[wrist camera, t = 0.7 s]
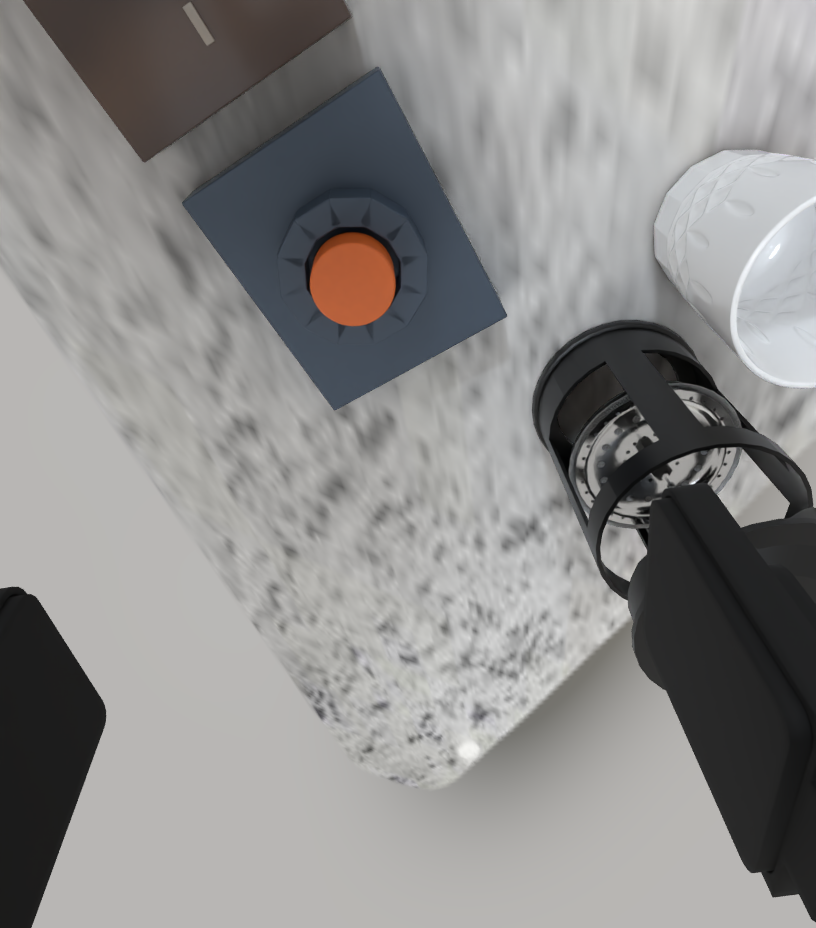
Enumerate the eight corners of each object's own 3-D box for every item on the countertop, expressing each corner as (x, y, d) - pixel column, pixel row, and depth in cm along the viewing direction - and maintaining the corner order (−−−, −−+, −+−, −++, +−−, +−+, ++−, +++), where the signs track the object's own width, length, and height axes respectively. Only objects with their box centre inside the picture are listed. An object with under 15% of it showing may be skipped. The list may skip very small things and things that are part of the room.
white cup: (662, 326, 36) (752, 419, 28) (620, 185, 32) (710, 245, 23) (813, 257, 34) (957, 335, 26) (789, 100, 30) (951, 132, 22)
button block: (191, 192, 31) (170, 213, 28) (378, 65, 29) (380, 72, 25) (336, 391, 37) (333, 429, 34) (500, 300, 35) (514, 331, 31)
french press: (512, 340, 36) (681, 713, 17) (690, 283, 35) (1092, 616, 16) (554, 506, 42) (712, 915, 23) (706, 464, 41) (1005, 857, 22)
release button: (295, 258, 29) (292, 271, 28) (366, 214, 28) (366, 225, 27) (341, 326, 31) (340, 341, 30) (409, 286, 30) (411, 300, 29)
